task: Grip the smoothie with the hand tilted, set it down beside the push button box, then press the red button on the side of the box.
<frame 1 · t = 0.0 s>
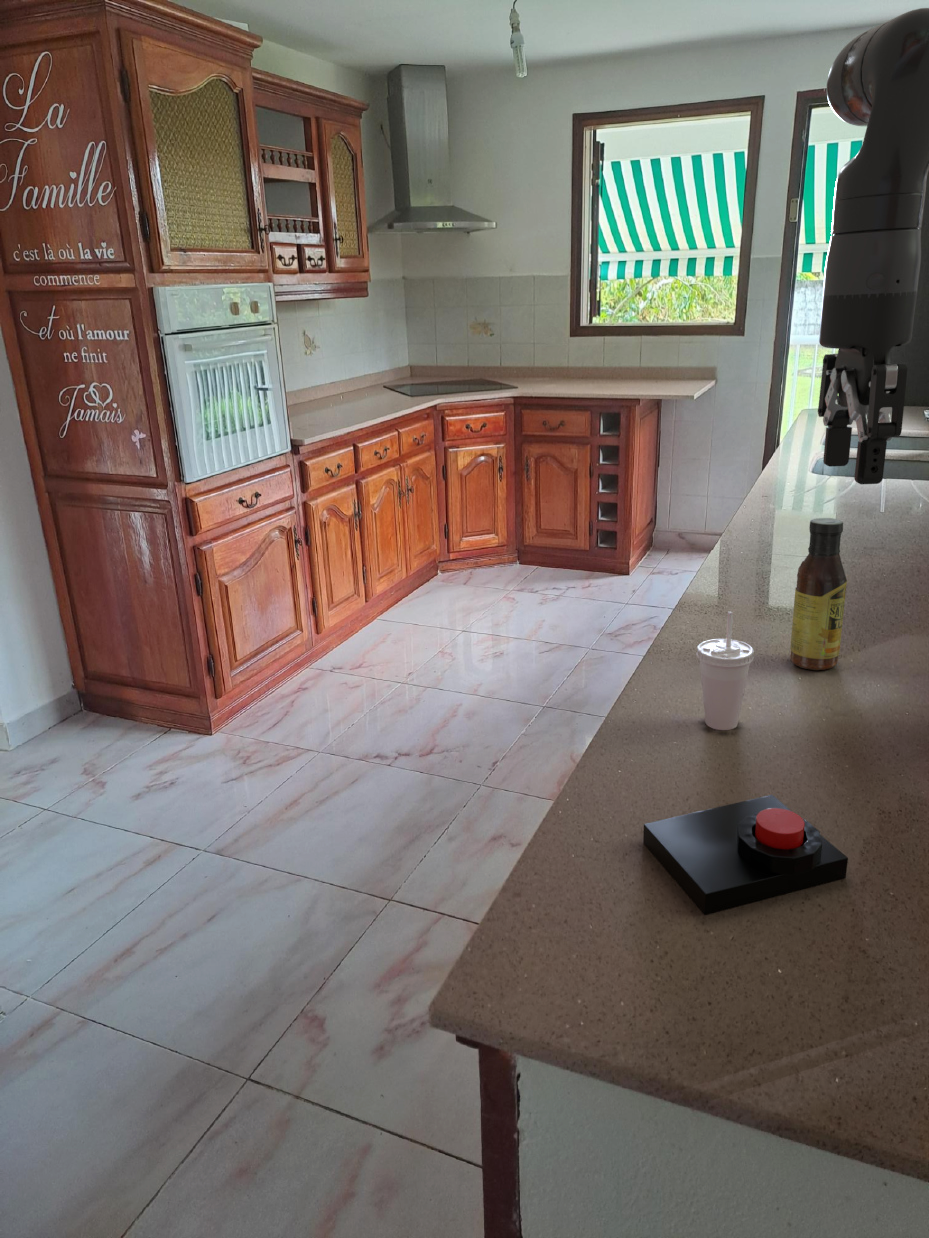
hand: (850, 474, 82), 32 cm above the counter, tool pointing down, fingers open, 8 cm apart
sauce bottle: (813, 664, 120), on the counter
push button box: (740, 860, 80), on the counter
smoothie: (721, 724, 105), on the counter
timer button: (779, 829, 77), point 4 cm above the counter, slide at 0.1 cm
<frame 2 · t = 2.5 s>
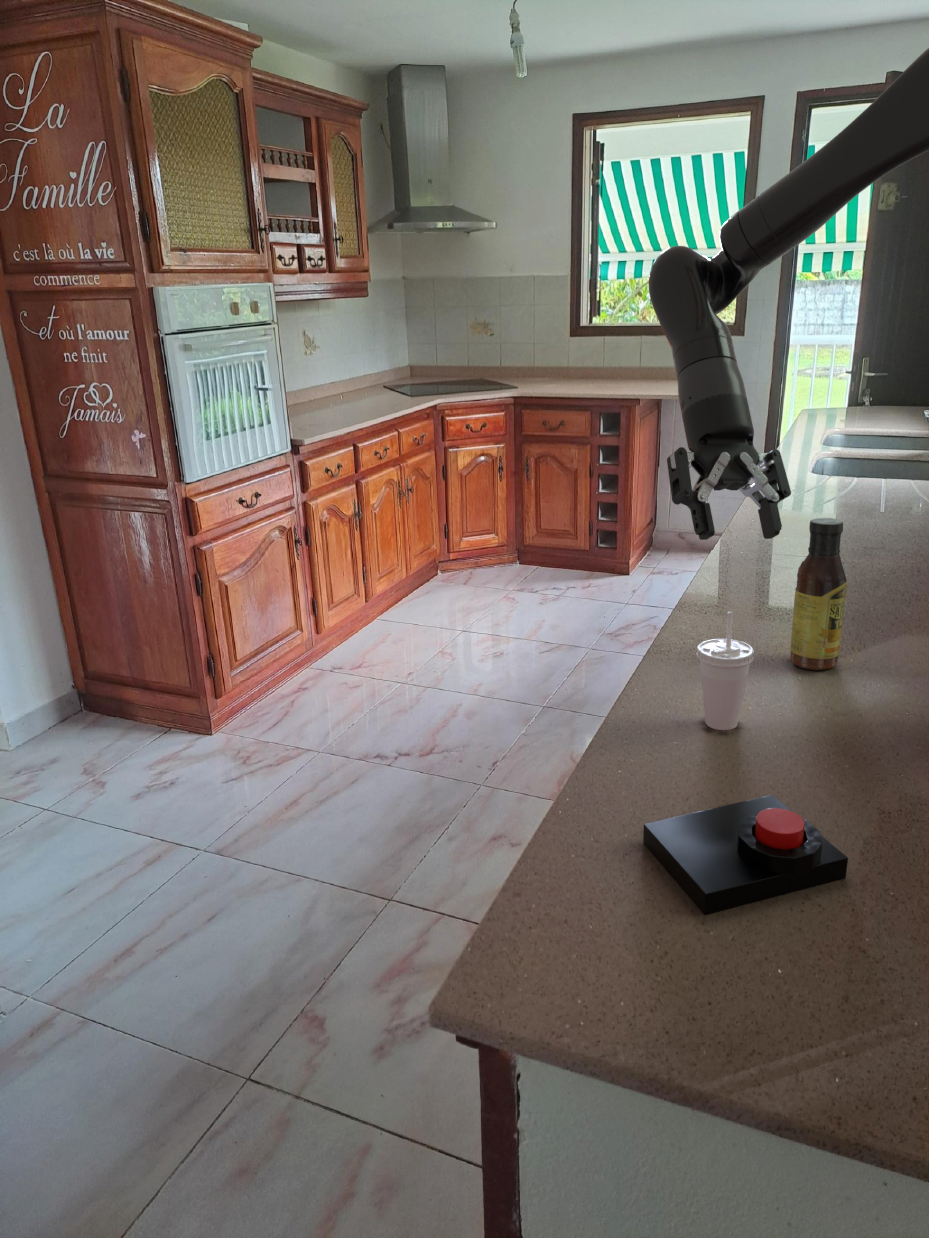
hand: (740, 537, 99), 22 cm above the counter, tool tilted 35°, fingers open, 8 cm apart
nothing on the counter moved.
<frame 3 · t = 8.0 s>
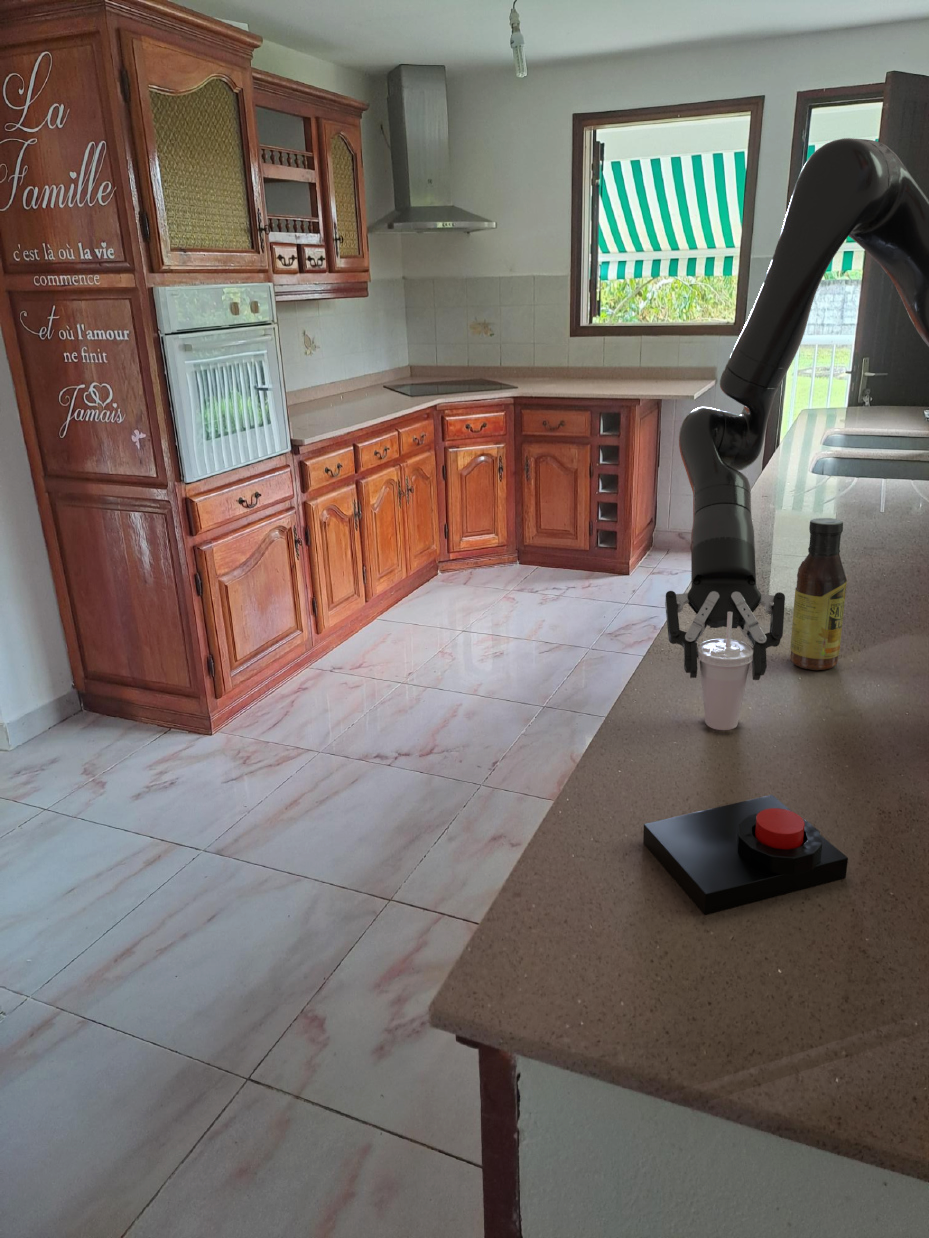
hand: (725, 676, 101), 7 cm above the counter, tool tilted 45°, fingers closed on smoothie, 6 cm apart
smoothie: (721, 724, 105), on the counter, touching gripper
everything else where it was.
when the fingers open (7 cm above the counter, at t = 15.9 s): smoothie stays where it is, on the counter.
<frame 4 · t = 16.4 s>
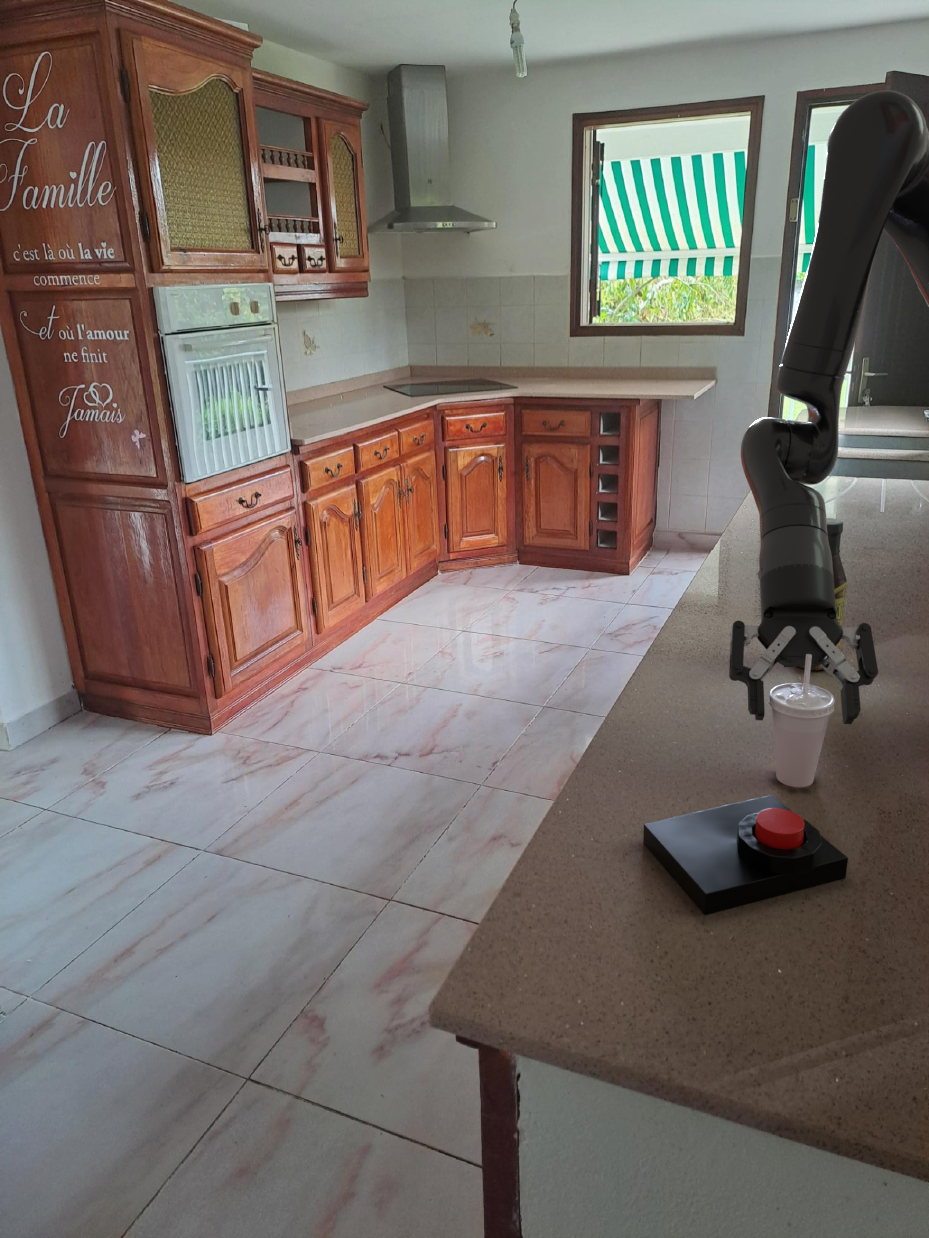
hand: (804, 720, 89), 8 cm above the counter, tool tilted 45°, fingers open, 8 cm apart
smoothie: (794, 779, 93), on the counter
everything else where it was.
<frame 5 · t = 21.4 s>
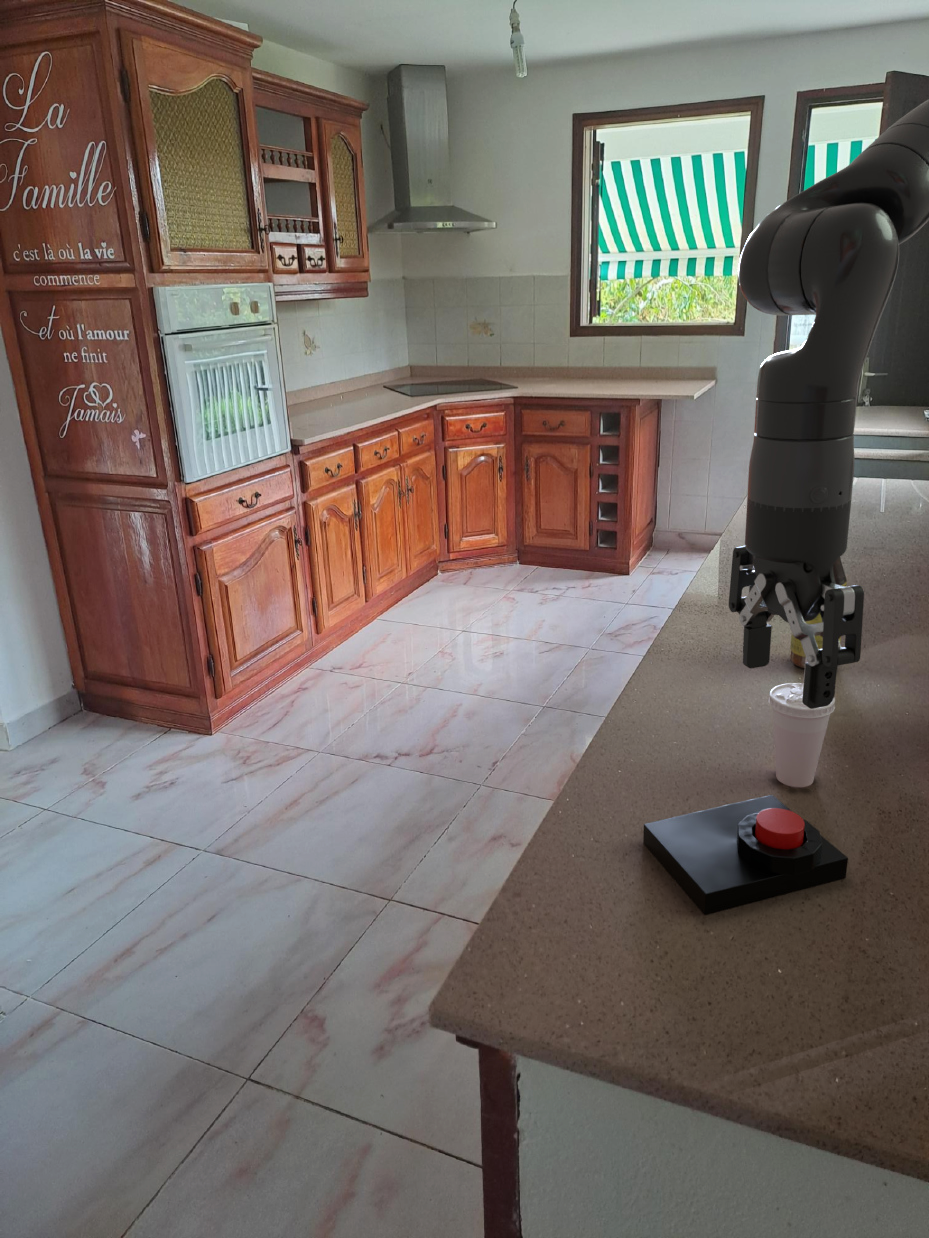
hand: (784, 684, 73), 18 cm above the counter, tool pointing down, fingers open, 8 cm apart
nothing on the counter moved.
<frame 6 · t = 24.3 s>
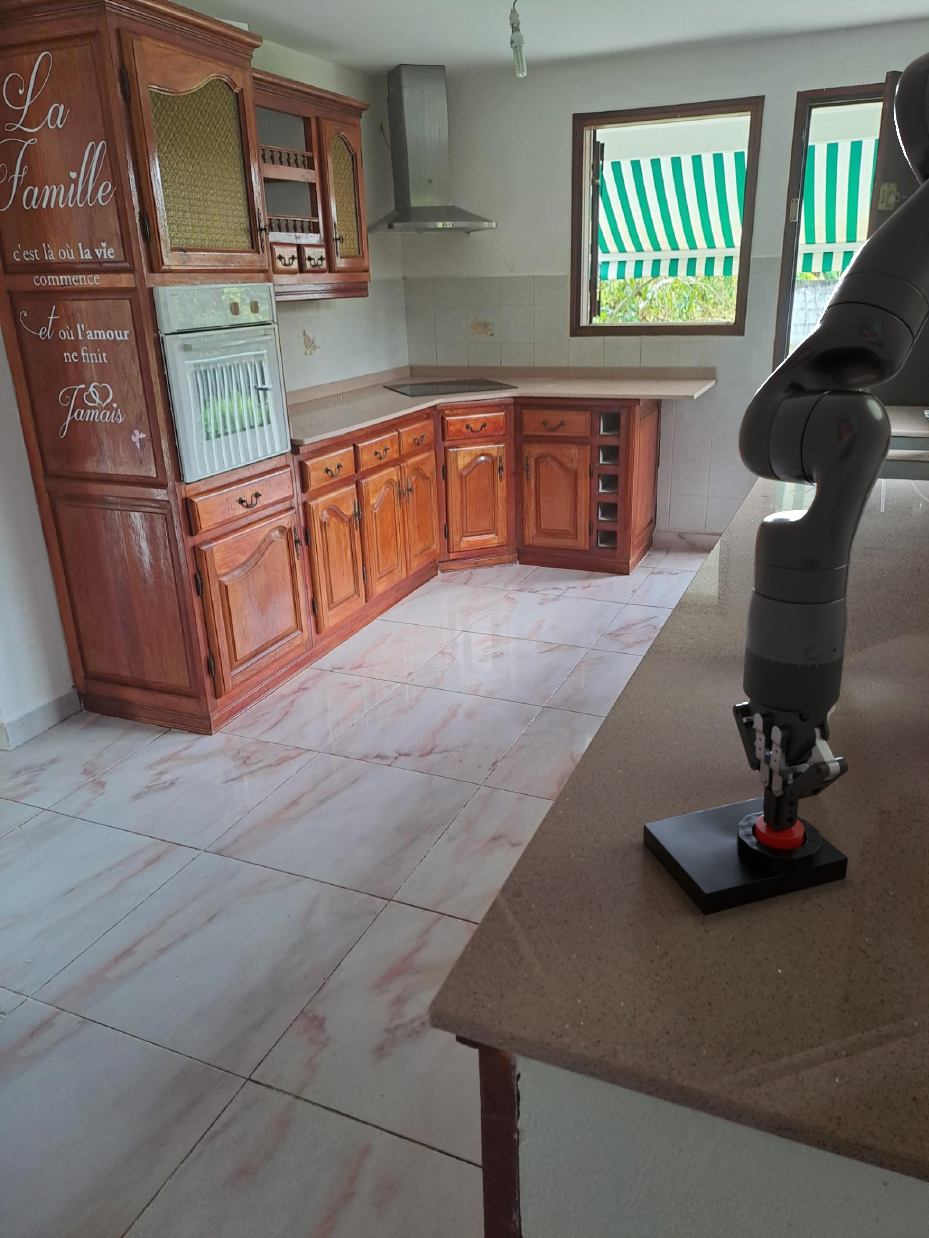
hand: (778, 825, 77), 5 cm above the counter, tool pointing down, fingers closed
timer button: (779, 833, 77), point 4 cm above the counter, slide at -0.4 cm, touching gripper
everything else where it was.
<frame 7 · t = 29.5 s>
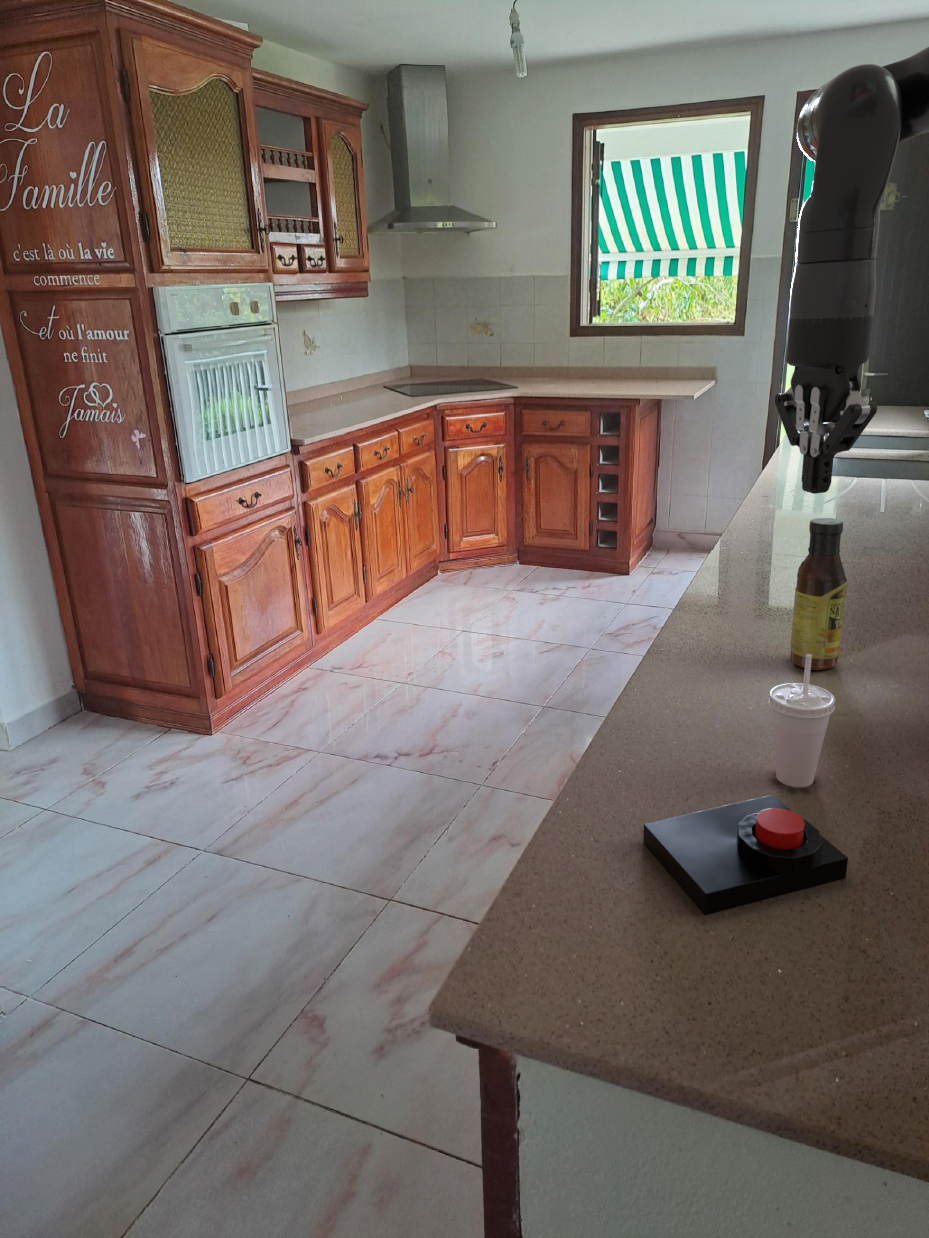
hand: (815, 491, 90), 29 cm above the counter, tool pointing down, fingers closed
timer button: (779, 829, 77), point 4 cm above the counter, slide at 0.1 cm
everything else where it was.
at the end: smoothie inside the target area (0.1 cm from its centre), on the counter; timer button pushed in 1.1 cm at the most during the clip, back to where it started at the end; timer button slide at 0.1 cm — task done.
